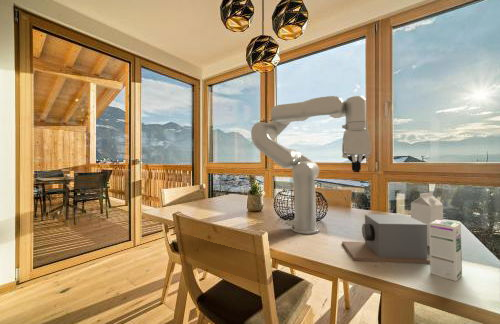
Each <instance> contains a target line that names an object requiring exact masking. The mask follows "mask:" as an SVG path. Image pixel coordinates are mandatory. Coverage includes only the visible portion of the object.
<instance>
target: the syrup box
mask: <svg viewBox="0 0 500 324" xmlns="http://www.w3.org/2000/svg"><path fill="white" fill-rule="evenodd" d="M461 225H462V224H461V223H459V222H455V221H449V220H444V219H443V220H435V221H433V222H431V223H429V243H430V246H429V258H430V264H429V271H430V274H432V275H435V276H437V277H441V278H444V279H446V280H447V279H448V280H449V281H453V282H457V281H458V280H459V279H460V278H461V276H462V275H463V263H462V262H463V261H462V259H463V258H462V257H463V256H462V252H463V251H462V226H461Z"/></svg>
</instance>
